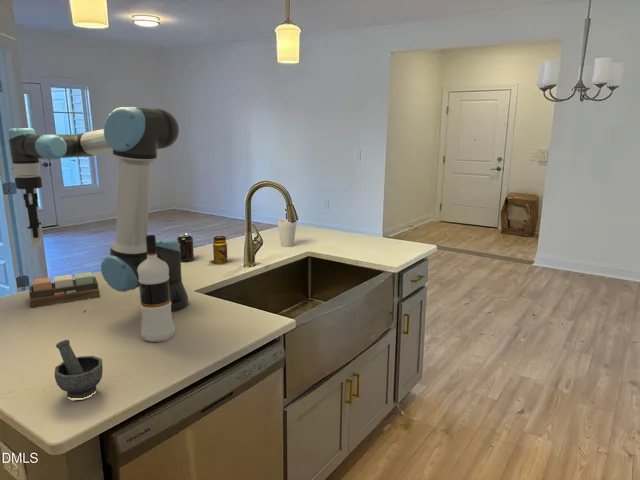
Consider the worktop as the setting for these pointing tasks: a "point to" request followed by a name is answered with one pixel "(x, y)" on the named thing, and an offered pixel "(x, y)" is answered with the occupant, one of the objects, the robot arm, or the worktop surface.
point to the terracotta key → (42, 284)
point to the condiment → (219, 251)
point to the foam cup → (286, 232)
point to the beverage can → (186, 247)
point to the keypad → (63, 294)
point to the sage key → (84, 278)
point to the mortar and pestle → (77, 372)
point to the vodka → (155, 296)
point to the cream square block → (63, 281)
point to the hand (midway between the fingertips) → (37, 245)
